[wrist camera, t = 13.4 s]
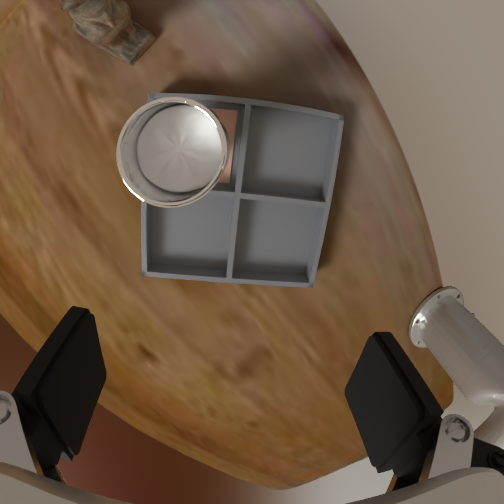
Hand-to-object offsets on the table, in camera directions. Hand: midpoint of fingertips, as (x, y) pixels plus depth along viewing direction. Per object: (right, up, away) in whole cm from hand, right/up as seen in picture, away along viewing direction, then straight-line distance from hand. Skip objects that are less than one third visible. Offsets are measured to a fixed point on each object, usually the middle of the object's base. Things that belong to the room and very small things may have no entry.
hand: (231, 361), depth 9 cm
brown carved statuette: (-16, +29, +14) cm, 36 cm away
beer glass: (-5, +15, +20) cm, 26 cm away
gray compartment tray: (-1, +10, +23) cm, 26 cm away
